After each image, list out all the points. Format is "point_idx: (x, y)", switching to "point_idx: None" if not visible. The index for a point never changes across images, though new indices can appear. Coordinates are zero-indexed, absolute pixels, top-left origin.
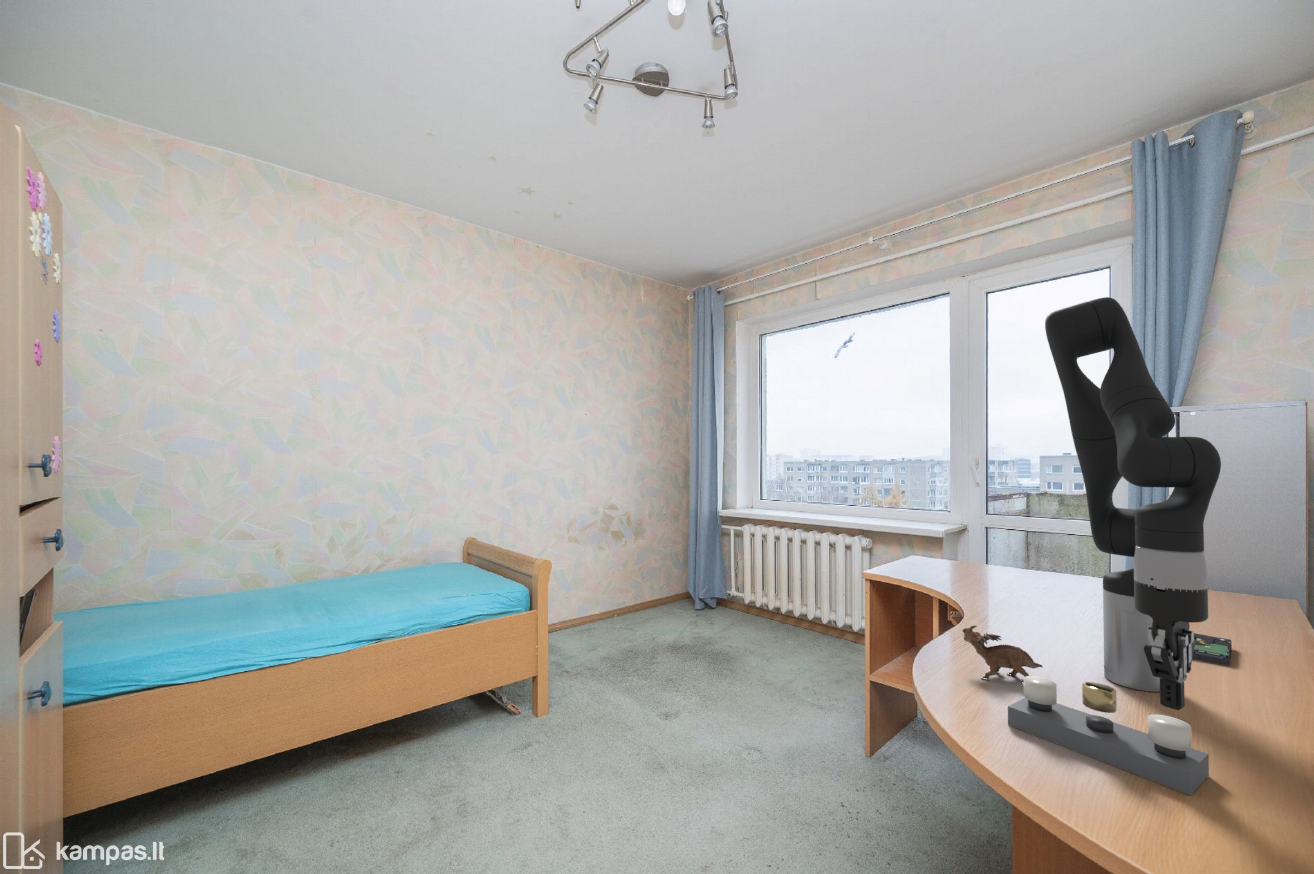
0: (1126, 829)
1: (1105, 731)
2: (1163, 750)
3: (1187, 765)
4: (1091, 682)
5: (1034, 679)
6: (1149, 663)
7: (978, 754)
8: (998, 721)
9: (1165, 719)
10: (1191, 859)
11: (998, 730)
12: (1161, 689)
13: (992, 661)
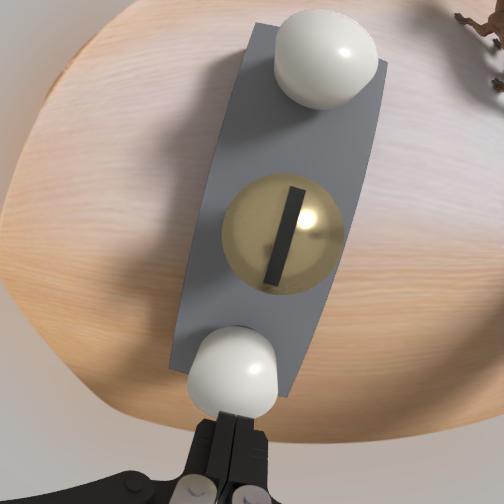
0: (30, 264)
1: None
2: None
3: None
4: (333, 205)
5: (335, 34)
6: (52, 493)
7: (88, 55)
8: None
9: (244, 385)
10: (32, 320)
11: (212, 37)
12: (212, 446)
13: (495, 23)
